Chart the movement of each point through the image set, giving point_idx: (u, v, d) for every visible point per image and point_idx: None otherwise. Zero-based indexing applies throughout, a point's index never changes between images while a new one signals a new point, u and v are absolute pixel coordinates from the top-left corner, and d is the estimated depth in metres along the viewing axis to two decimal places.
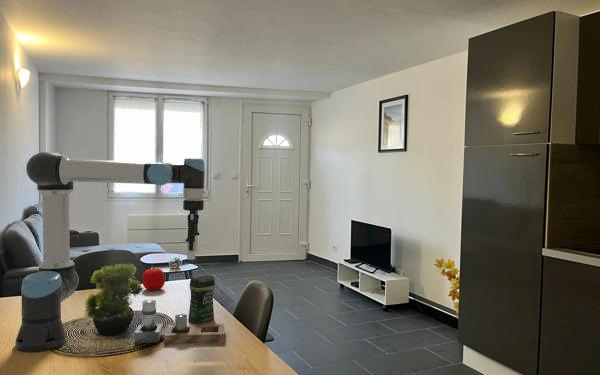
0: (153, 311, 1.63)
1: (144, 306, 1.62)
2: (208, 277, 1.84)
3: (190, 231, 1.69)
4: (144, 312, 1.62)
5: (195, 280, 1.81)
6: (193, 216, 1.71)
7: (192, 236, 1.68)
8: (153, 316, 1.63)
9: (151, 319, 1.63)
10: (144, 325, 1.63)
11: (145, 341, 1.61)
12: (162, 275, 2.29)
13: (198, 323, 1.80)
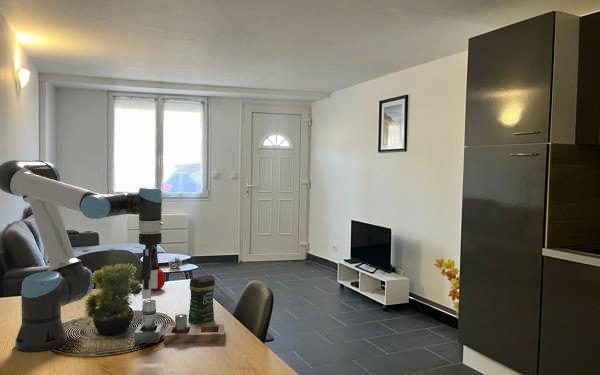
0: (153, 311, 1.63)
1: (144, 306, 1.62)
2: (208, 277, 1.84)
3: (144, 268, 1.55)
4: (144, 312, 1.62)
5: (195, 280, 1.81)
6: (148, 252, 1.57)
7: (146, 274, 1.54)
8: (153, 316, 1.63)
9: (151, 319, 1.63)
10: (144, 325, 1.63)
11: (145, 341, 1.61)
12: (162, 275, 2.29)
13: (198, 323, 1.80)
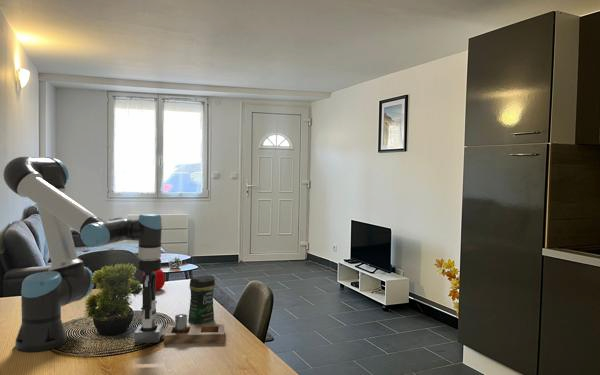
0: (153, 311, 1.63)
1: None
2: (208, 277, 1.84)
3: (145, 300, 1.58)
4: None
5: (195, 280, 1.81)
6: (147, 284, 1.58)
7: (147, 305, 1.58)
8: (153, 316, 1.63)
9: None
10: None
11: (145, 341, 1.61)
12: (162, 275, 2.29)
13: (198, 323, 1.80)
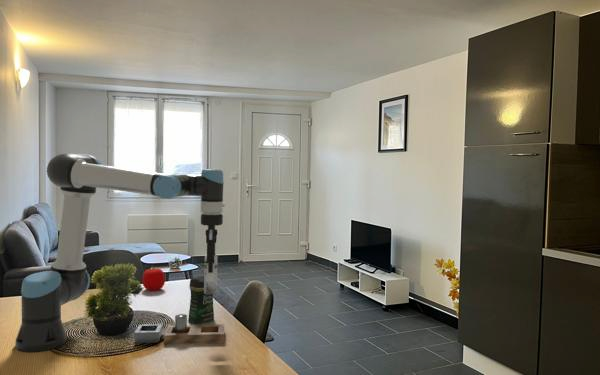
0: (215, 265, 1.64)
1: None
2: None
3: (209, 253, 1.59)
4: None
5: (195, 280, 1.81)
6: (212, 237, 1.59)
7: (211, 258, 1.60)
8: (215, 270, 1.65)
9: (214, 273, 1.64)
10: None
11: (145, 341, 1.61)
12: (162, 275, 2.29)
13: (198, 323, 1.80)
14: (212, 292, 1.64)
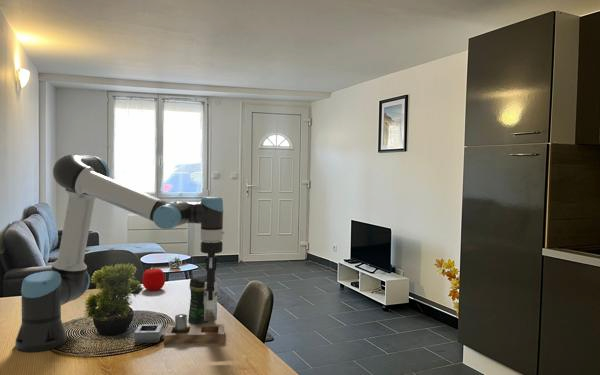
0: (215, 292, 1.65)
1: None
2: None
3: (209, 281, 1.60)
4: None
5: (195, 280, 1.81)
6: (212, 265, 1.59)
7: (211, 286, 1.60)
8: (215, 297, 1.65)
9: (214, 301, 1.65)
10: None
11: (145, 341, 1.61)
12: (162, 275, 2.29)
13: (198, 323, 1.80)
14: (212, 319, 1.65)
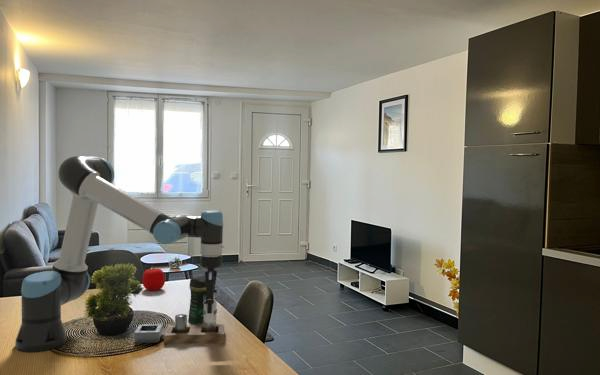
0: (214, 310, 1.65)
1: None
2: None
3: (208, 293, 1.58)
4: None
5: (195, 280, 1.81)
6: (211, 276, 1.59)
7: (211, 299, 1.57)
8: (214, 316, 1.66)
9: None
10: (206, 325, 1.65)
11: (145, 341, 1.61)
12: (162, 275, 2.29)
13: (198, 323, 1.80)
14: None
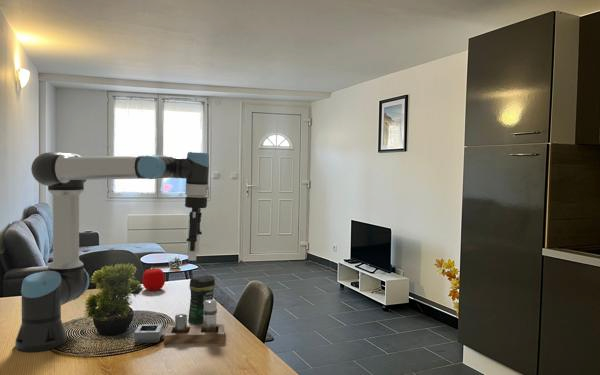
0: (214, 310, 1.65)
1: (206, 306, 1.64)
2: (208, 277, 1.84)
3: (192, 230, 1.57)
4: (206, 312, 1.64)
5: (195, 280, 1.81)
6: (195, 214, 1.59)
7: (194, 235, 1.57)
8: (214, 316, 1.65)
9: (213, 319, 1.65)
10: (206, 325, 1.65)
11: (145, 341, 1.61)
12: (162, 275, 2.29)
13: (198, 323, 1.80)
14: None
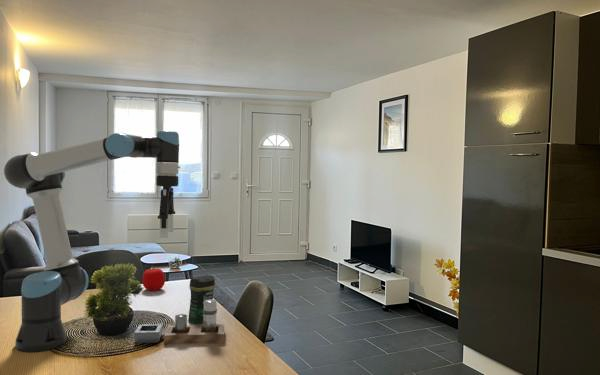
0: (214, 310, 1.65)
1: (206, 306, 1.65)
2: (208, 277, 1.84)
3: (162, 207, 1.59)
4: (206, 312, 1.64)
5: (195, 280, 1.81)
6: (166, 192, 1.60)
7: (164, 212, 1.58)
8: (214, 316, 1.66)
9: (213, 319, 1.65)
10: (206, 325, 1.65)
11: (145, 341, 1.61)
12: (162, 275, 2.29)
13: (198, 323, 1.80)
14: None
